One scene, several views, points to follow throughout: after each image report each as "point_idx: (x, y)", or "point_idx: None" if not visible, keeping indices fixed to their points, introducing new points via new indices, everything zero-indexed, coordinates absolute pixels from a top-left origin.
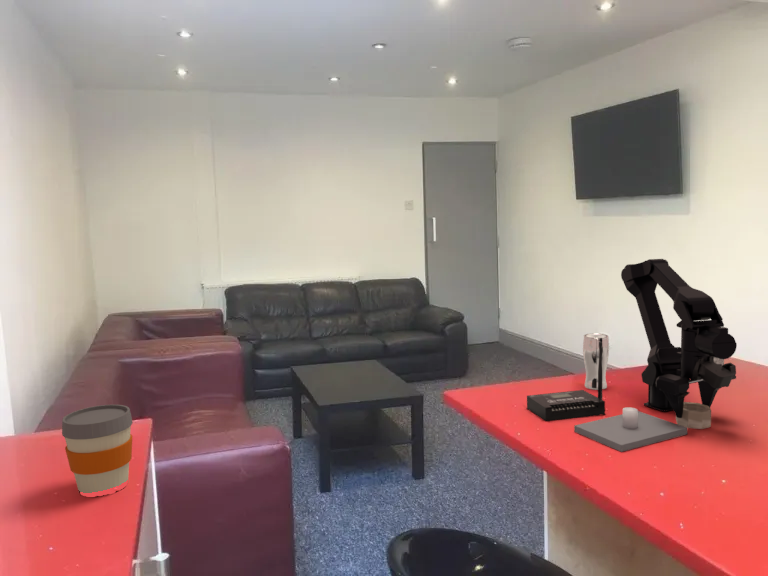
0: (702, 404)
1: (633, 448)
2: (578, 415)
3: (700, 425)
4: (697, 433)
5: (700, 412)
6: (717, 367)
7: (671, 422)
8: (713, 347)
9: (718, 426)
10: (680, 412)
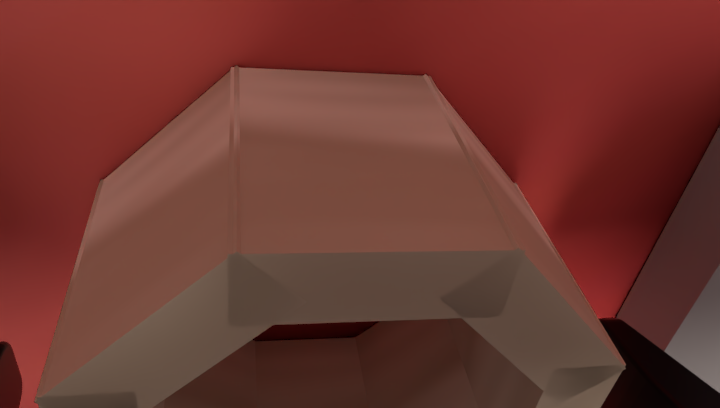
0: None
1: None
2: None
3: (455, 116)
4: (641, 7)
5: (531, 264)
6: None
7: (698, 302)
8: None
9: (100, 10)
10: (700, 382)
